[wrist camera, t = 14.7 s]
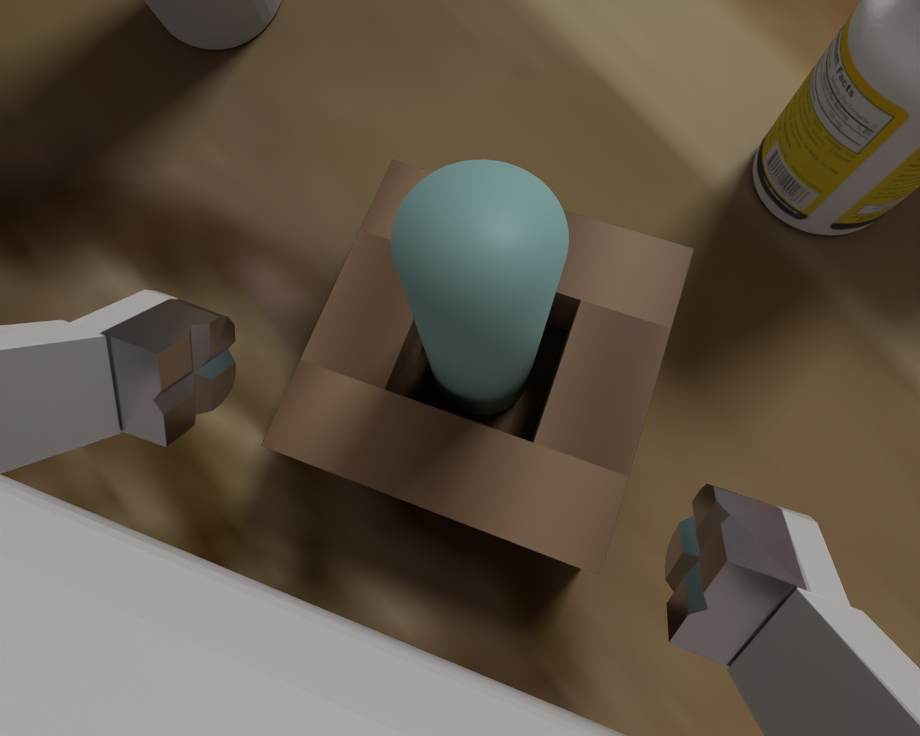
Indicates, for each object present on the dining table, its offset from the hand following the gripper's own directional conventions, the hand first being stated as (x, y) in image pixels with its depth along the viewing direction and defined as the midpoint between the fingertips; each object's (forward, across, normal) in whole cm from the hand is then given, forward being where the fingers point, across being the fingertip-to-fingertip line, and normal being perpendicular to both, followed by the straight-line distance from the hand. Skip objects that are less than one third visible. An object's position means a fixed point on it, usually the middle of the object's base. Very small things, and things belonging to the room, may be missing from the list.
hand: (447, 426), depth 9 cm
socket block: (+10, -1, -5) cm, 12 cm away
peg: (+10, -1, -5) cm, 12 cm away
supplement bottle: (+19, +9, +3) cm, 22 cm away
